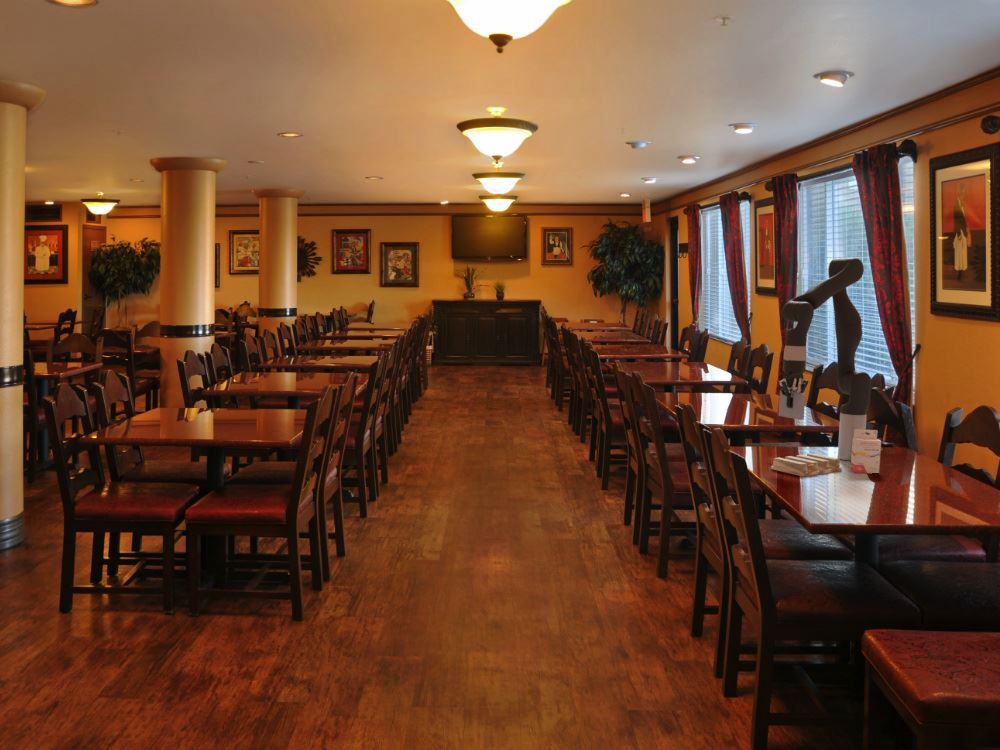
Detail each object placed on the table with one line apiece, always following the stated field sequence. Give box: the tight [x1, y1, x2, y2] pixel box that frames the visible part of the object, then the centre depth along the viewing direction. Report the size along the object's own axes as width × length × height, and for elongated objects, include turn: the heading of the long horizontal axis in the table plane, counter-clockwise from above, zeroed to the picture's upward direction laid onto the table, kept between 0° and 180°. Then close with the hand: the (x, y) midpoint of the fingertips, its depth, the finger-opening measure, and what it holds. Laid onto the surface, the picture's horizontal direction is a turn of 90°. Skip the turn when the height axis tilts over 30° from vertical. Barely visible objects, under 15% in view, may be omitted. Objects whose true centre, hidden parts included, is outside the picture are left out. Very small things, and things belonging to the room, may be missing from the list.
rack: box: [770, 453, 843, 477], centre depth 324 cm, size 20×14×4 cm
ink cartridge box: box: [850, 429, 882, 474], centre depth 321 cm, size 9×5×15 cm, turn 84°
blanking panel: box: [777, 390, 806, 420], centre depth 325 cm, size 2×10×9 cm, turn 30°
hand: (791, 407), depth 325 cm, fingers closed on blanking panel, 1 cm apart
